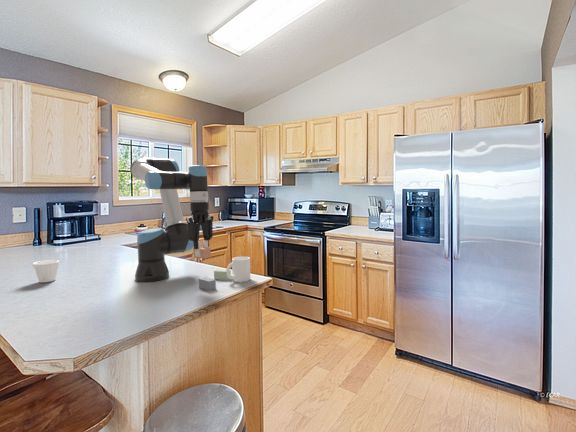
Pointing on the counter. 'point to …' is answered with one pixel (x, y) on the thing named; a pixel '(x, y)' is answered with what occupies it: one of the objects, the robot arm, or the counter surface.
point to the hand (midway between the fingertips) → (202, 255)
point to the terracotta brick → (204, 253)
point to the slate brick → (207, 283)
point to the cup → (46, 270)
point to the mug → (239, 269)
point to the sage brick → (221, 274)
